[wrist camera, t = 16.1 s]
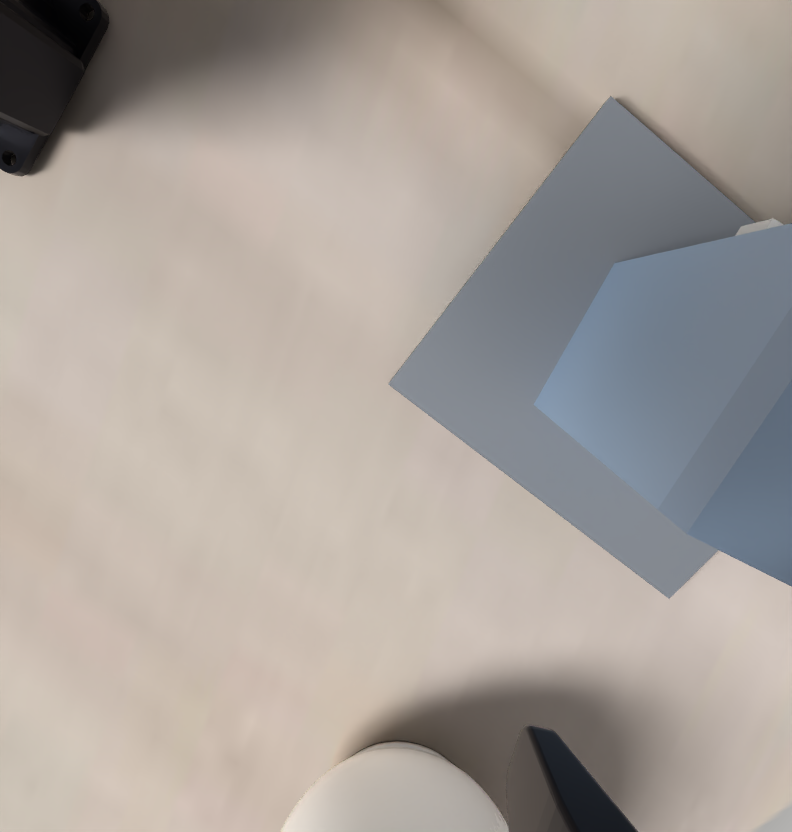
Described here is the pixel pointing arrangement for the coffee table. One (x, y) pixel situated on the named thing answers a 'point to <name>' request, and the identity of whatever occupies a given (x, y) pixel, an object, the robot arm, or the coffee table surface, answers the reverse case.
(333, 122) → the coffee table surface
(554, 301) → the flat square base plate
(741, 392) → the tall blue rectangular block
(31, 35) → the robot arm
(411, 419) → the coffee table surface
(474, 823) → the lidded jar
